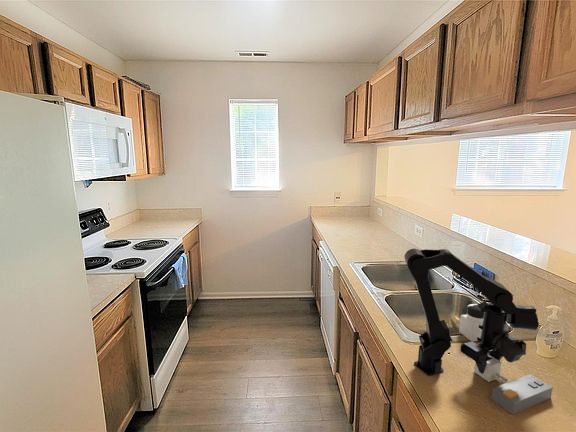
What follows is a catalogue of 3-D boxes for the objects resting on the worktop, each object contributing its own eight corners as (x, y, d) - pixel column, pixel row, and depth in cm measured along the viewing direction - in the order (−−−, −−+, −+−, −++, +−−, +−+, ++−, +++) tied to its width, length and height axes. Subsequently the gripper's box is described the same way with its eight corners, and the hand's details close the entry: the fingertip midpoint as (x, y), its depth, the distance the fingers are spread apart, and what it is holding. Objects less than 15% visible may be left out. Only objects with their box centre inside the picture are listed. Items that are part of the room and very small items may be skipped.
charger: (473, 371, 104) (476, 354, 103) (484, 368, 105) (486, 351, 104) (498, 388, 96) (501, 370, 95) (508, 384, 98) (511, 367, 97)
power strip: (491, 398, 92) (493, 386, 92) (528, 384, 98) (530, 372, 98) (512, 414, 87) (514, 401, 86) (550, 398, 93) (553, 385, 92)
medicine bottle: (488, 340, 121) (493, 310, 119) (471, 342, 120) (475, 311, 118) (475, 330, 128) (478, 301, 126) (458, 331, 127) (462, 302, 125)
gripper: (497, 345, 88) (489, 396, 91) (542, 332, 95) (534, 380, 98) (462, 325, 98) (456, 371, 101) (505, 314, 105) (498, 358, 108)
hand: (486, 371), depth 102 cm, fingers closed on charger, 4 cm apart
